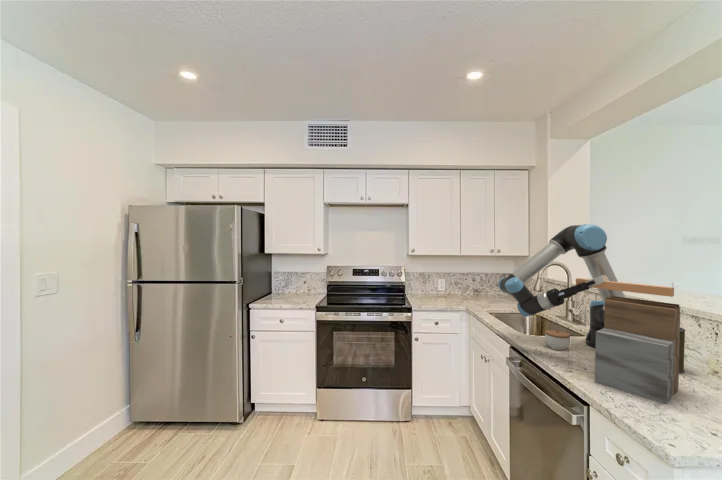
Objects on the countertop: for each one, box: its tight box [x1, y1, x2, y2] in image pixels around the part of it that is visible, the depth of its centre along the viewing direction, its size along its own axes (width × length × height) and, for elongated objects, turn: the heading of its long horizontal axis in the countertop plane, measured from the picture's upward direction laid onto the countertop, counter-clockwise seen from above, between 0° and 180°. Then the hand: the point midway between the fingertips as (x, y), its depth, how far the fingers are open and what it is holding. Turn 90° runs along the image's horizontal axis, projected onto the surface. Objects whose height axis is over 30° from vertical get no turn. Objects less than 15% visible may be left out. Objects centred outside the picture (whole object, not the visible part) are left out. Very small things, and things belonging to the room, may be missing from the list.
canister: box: [679, 327, 686, 374], centre depth 136 cm, size 11×10×20 cm
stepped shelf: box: [594, 296, 681, 405], centre depth 119 cm, size 18×20×31 cm
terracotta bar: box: [575, 277, 675, 298], centre depth 127 cm, size 3×30×3 cm, turn 36°
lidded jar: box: [544, 328, 571, 351], centre depth 159 cm, size 11×11×9 cm
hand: (605, 278), depth 131 cm, fingers closed on terracotta bar, 3 cm apart
